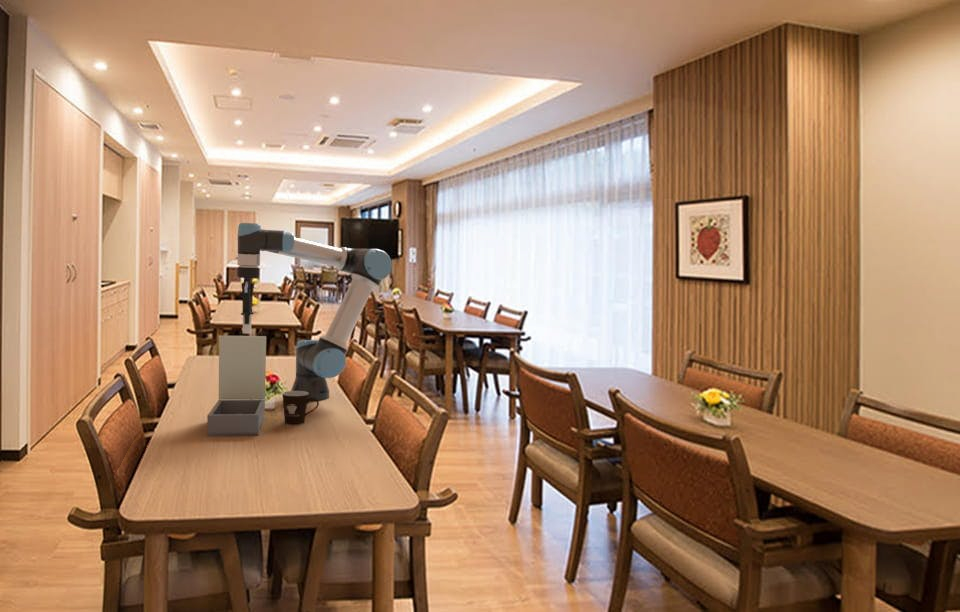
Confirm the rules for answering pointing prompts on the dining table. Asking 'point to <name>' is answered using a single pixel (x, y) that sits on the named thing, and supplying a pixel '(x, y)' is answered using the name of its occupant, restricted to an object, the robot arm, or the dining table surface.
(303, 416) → the coffee mug
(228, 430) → the open storage box
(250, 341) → the box lid
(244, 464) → the dining table surface
